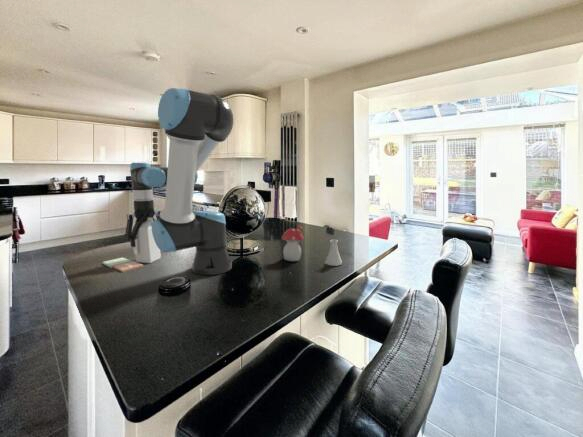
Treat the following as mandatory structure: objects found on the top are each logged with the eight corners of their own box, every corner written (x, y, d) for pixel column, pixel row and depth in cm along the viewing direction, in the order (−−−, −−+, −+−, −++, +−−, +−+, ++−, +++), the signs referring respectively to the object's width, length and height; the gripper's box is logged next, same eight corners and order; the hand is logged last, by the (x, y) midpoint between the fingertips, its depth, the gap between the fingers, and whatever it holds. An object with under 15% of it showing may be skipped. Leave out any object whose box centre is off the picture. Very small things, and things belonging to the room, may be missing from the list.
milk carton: (150, 263, 125) (146, 219, 122) (135, 262, 126) (131, 218, 123) (161, 258, 132) (157, 216, 128) (147, 257, 133) (143, 215, 130)
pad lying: (143, 266, 121) (143, 264, 121) (122, 272, 115) (122, 269, 114) (134, 262, 126) (134, 260, 125) (113, 267, 119) (113, 265, 119)
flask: (345, 262, 125) (345, 239, 123) (337, 267, 119) (338, 243, 117) (329, 259, 129) (330, 237, 127) (321, 264, 123) (322, 241, 122)
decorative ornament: (305, 258, 131) (305, 225, 128) (299, 263, 125) (299, 228, 122) (285, 256, 134) (285, 223, 132) (279, 260, 128) (279, 226, 126)
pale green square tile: (131, 262, 126) (131, 260, 126) (110, 267, 120) (110, 265, 120) (122, 259, 131) (122, 256, 131) (102, 263, 125) (102, 261, 125)
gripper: (163, 197, 135) (167, 244, 139) (111, 201, 118) (117, 255, 122) (172, 198, 131) (176, 247, 135) (119, 202, 114) (125, 259, 117)
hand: (148, 251), depth 128 cm, fingers closed on milk carton, 9 cm apart
